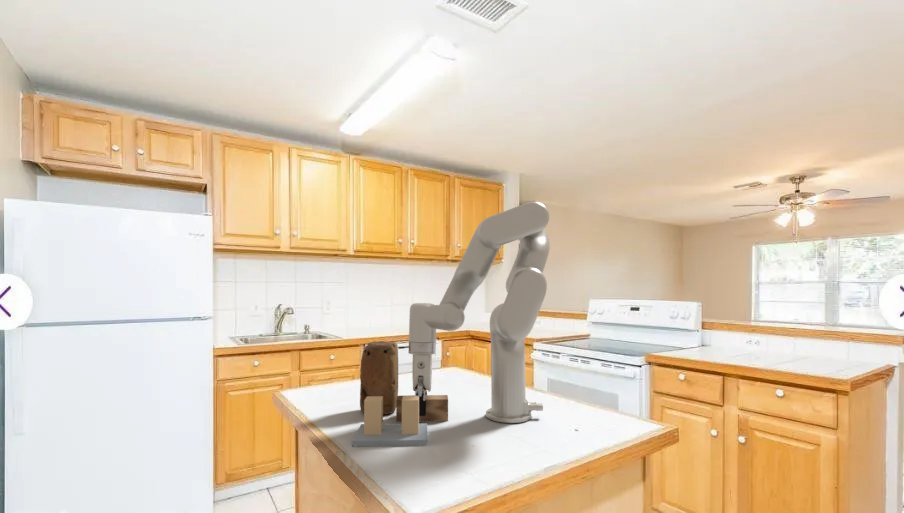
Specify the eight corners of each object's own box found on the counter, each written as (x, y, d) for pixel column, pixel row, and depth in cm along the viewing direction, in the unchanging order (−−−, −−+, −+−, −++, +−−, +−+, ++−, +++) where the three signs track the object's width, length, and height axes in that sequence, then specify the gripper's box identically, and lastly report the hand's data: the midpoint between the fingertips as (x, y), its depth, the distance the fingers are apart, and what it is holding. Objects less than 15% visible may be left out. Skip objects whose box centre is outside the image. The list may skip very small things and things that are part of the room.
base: (427, 428, 114) (427, 391, 115) (426, 445, 102) (426, 404, 103) (361, 428, 114) (361, 392, 114) (352, 446, 102) (352, 405, 102)
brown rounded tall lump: (399, 408, 132) (400, 341, 133) (393, 416, 125) (394, 344, 126) (364, 407, 133) (365, 340, 134) (356, 415, 126) (357, 343, 127)
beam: (447, 416, 125) (447, 395, 125) (448, 421, 120) (448, 399, 121) (397, 417, 124) (397, 395, 125) (396, 422, 120) (396, 399, 120)
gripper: (435, 352, 115) (433, 420, 114) (435, 343, 132) (434, 402, 131) (406, 352, 115) (404, 419, 114) (410, 343, 132) (408, 401, 131)
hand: (420, 410), depth 122 cm, fingers open, 9 cm apart
